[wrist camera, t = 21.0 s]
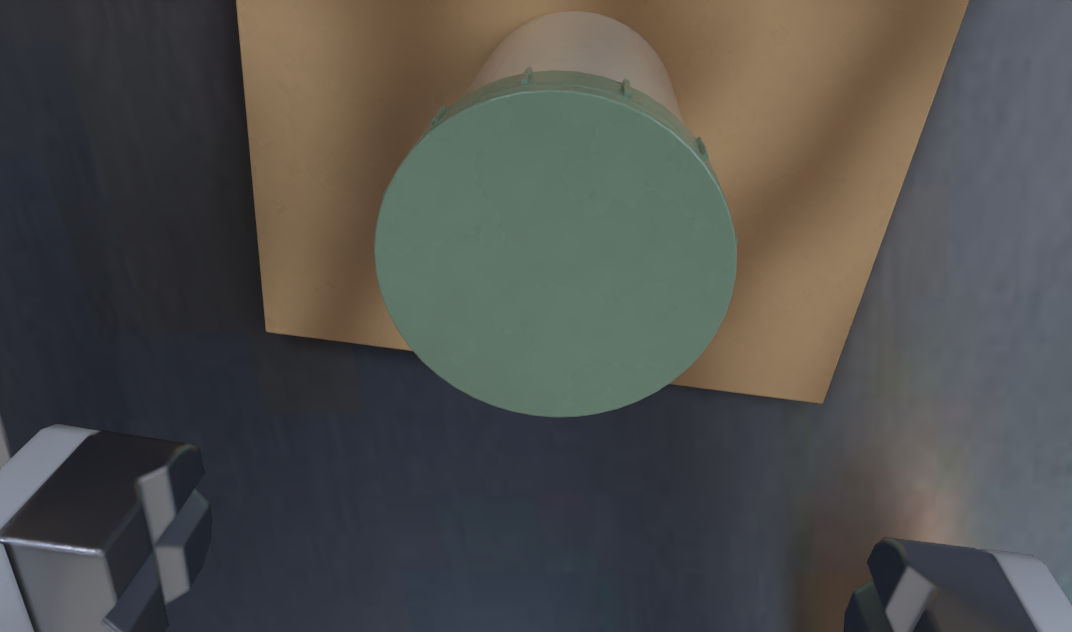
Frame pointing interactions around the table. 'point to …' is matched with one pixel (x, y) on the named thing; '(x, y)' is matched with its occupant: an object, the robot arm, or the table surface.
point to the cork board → (708, 112)
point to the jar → (581, 54)
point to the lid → (556, 245)
